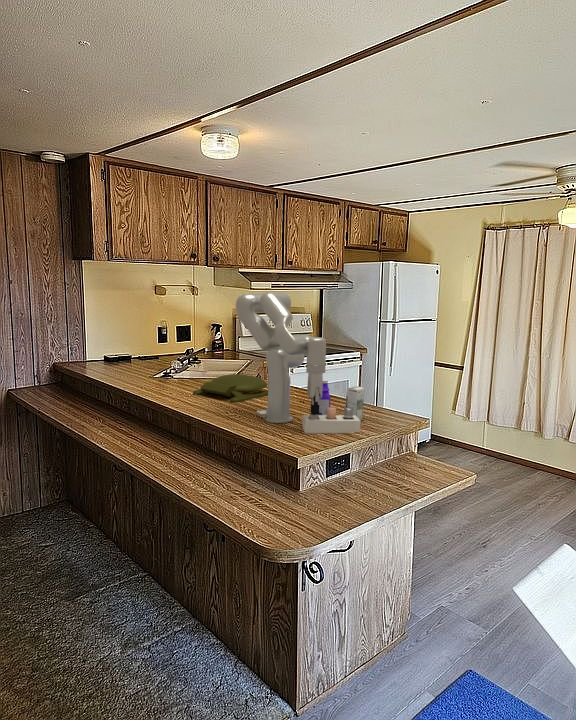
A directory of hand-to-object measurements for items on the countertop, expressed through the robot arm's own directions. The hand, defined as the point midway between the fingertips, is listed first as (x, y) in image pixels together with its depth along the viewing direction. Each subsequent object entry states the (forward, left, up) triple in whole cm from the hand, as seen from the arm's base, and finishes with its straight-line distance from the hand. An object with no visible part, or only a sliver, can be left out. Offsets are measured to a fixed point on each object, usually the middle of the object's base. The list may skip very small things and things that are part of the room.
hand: (314, 413), depth 214 cm
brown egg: (+7, 0, -3) cm, 7 cm away
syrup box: (+20, +16, -7) cm, 27 cm away
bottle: (+6, +18, -7) cm, 20 cm away
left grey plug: (0, 0, -6) cm, 5 cm away
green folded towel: (-32, +71, -7) cm, 78 cm away
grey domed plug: (+14, 0, -3) cm, 14 cm away
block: (+7, 0, -7) cm, 10 cm away
